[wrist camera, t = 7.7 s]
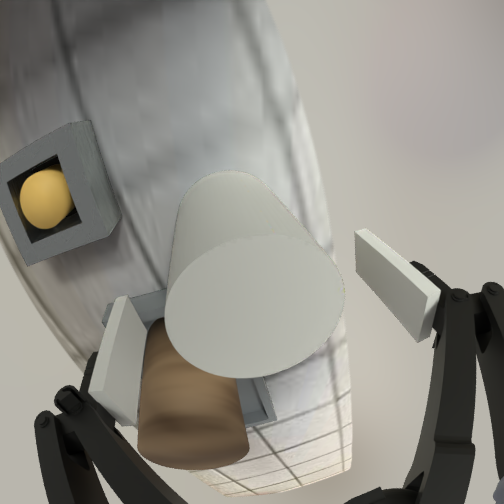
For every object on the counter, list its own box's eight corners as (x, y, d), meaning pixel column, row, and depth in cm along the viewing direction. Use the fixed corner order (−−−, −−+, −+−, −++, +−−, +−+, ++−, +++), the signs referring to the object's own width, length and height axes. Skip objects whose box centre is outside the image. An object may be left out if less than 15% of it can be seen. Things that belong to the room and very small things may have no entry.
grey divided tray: (107, 304, 24) (101, 322, 22) (230, 271, 25) (234, 288, 23) (191, 423, 35) (192, 438, 33) (272, 405, 36) (277, 420, 34)
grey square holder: (15, 160, 17) (-12, 172, 13) (90, 120, 17) (69, 123, 14) (47, 243, 21) (27, 266, 17) (122, 215, 21) (109, 236, 18)
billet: (133, 321, 25) (115, 435, 14) (215, 300, 25) (233, 419, 15) (166, 373, 29) (167, 473, 18) (236, 357, 29) (259, 459, 19)
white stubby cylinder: (251, 277, 26) (289, 386, 15) (163, 247, 23) (145, 359, 12) (295, 195, 23) (375, 271, 12) (201, 154, 20) (207, 201, 10)
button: (32, 175, 17) (13, 185, 14) (71, 155, 17) (53, 163, 14) (49, 220, 19) (33, 235, 16) (88, 204, 19) (73, 218, 16)
